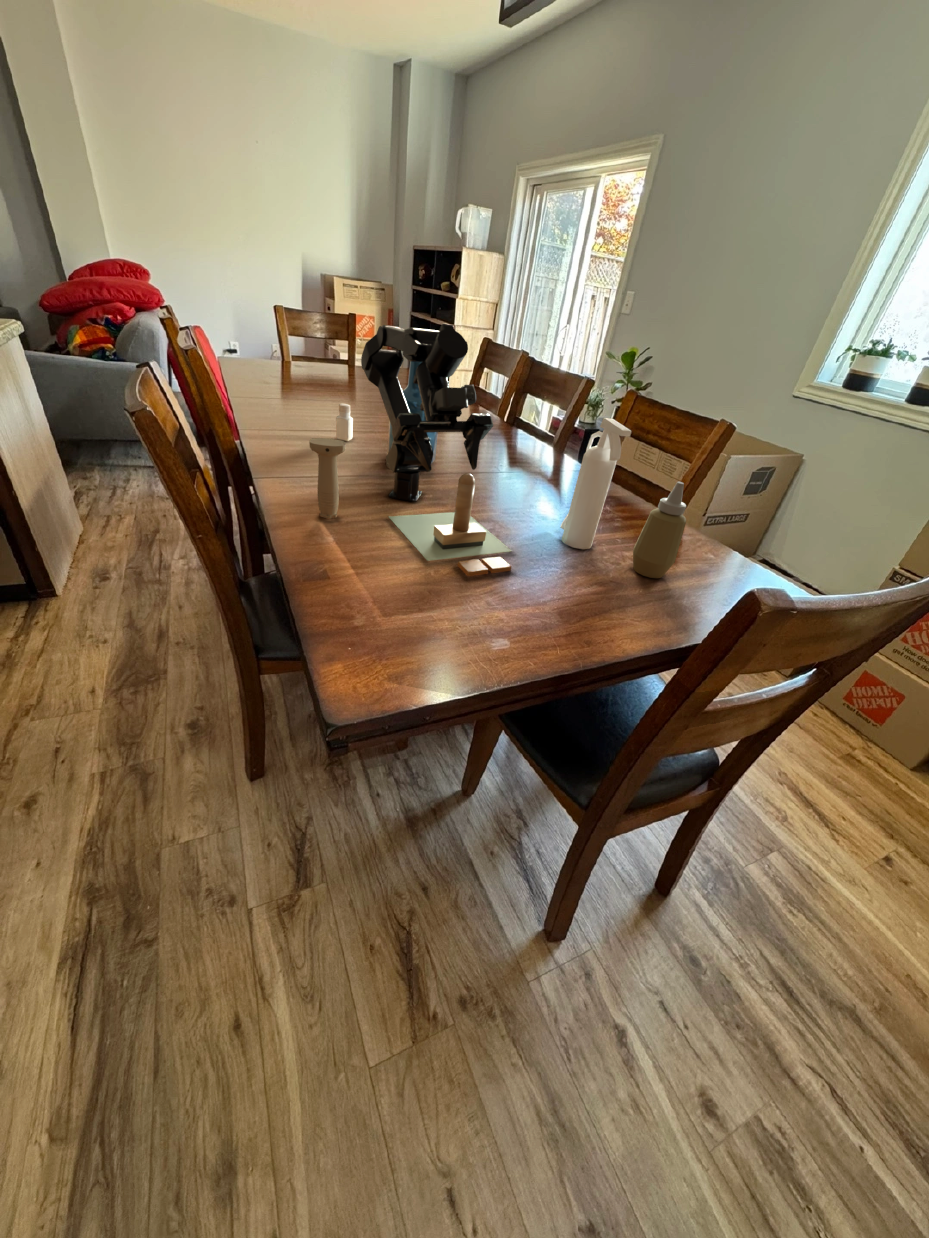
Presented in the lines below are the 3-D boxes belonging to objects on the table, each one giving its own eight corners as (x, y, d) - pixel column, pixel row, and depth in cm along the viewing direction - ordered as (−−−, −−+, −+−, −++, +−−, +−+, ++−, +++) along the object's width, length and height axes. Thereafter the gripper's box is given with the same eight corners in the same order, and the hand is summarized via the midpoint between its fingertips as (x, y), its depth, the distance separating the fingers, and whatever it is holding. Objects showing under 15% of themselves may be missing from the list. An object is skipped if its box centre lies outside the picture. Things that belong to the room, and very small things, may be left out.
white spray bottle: (576, 529, 114) (607, 412, 101) (602, 554, 105) (641, 428, 91) (549, 529, 112) (577, 409, 99) (573, 554, 103) (609, 425, 89)
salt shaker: (335, 439, 148) (335, 405, 143) (340, 436, 152) (340, 402, 146) (348, 442, 148) (348, 407, 143) (353, 438, 151) (353, 405, 146)
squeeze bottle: (663, 586, 96) (699, 494, 86) (622, 571, 99) (652, 481, 89) (672, 572, 102) (707, 484, 92) (633, 558, 105) (663, 472, 95)
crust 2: (480, 566, 93) (481, 558, 92) (498, 564, 95) (500, 556, 94) (491, 576, 90) (492, 568, 89) (510, 574, 92) (511, 566, 91)
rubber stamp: (442, 550, 94) (450, 478, 87) (432, 540, 98) (440, 470, 90) (484, 545, 99) (495, 477, 91) (473, 536, 102) (483, 469, 94)
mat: (387, 520, 105) (387, 516, 104) (464, 514, 113) (465, 511, 112) (426, 564, 91) (427, 560, 90) (511, 555, 99) (512, 551, 98)
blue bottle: (433, 470, 136) (445, 344, 120) (383, 464, 135) (389, 336, 119) (436, 456, 148) (448, 339, 131) (390, 450, 147) (396, 331, 130)
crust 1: (456, 569, 91) (458, 561, 90) (476, 566, 92) (477, 559, 92) (467, 580, 88) (468, 571, 87) (487, 577, 90) (488, 569, 89)
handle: (345, 524, 100) (345, 447, 92) (310, 522, 99) (308, 444, 91) (345, 515, 104) (345, 439, 96) (312, 513, 103) (310, 436, 94)
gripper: (399, 363, 86) (418, 450, 84) (496, 368, 93) (515, 447, 92) (384, 401, 96) (400, 479, 94) (472, 402, 104) (489, 475, 102)
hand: (452, 469), depth 95 cm, fingers open, 9 cm apart
